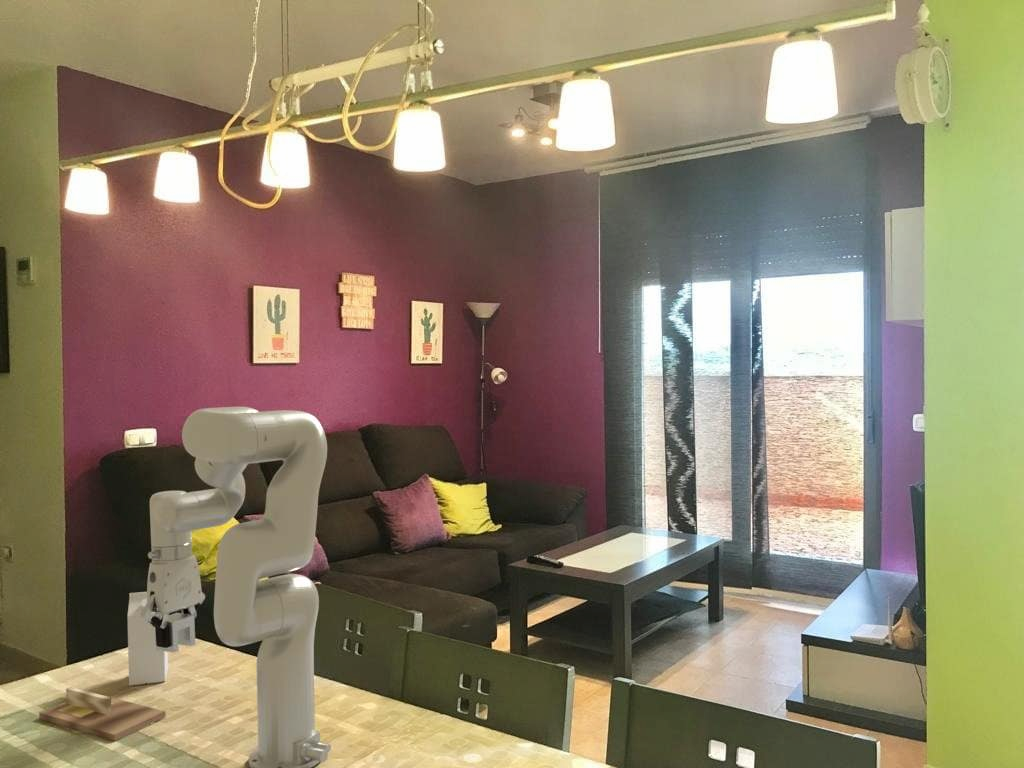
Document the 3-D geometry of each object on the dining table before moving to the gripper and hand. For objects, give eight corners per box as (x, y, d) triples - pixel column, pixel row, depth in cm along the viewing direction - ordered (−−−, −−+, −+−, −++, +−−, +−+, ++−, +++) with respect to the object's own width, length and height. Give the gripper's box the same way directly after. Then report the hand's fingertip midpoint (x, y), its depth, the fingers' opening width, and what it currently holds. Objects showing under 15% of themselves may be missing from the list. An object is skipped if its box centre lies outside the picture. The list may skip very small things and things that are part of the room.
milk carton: (133, 674, 182) (131, 589, 181) (168, 670, 184) (166, 586, 183) (129, 686, 175) (126, 597, 174) (165, 682, 177) (163, 594, 176)
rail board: (165, 717, 159) (165, 696, 159) (115, 741, 149) (114, 718, 149) (91, 697, 169) (90, 677, 169) (39, 718, 159) (38, 697, 159)
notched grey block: (195, 644, 167) (194, 614, 167) (173, 652, 163) (172, 622, 163) (178, 641, 170) (176, 612, 170) (156, 649, 165) (154, 619, 165)
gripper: (148, 562, 157) (152, 657, 157) (218, 545, 172) (221, 631, 172) (122, 560, 160) (126, 653, 160) (192, 543, 175) (196, 628, 176)
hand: (175, 641), depth 166 cm, fingers closed on notched grey block, 5 cm apart
